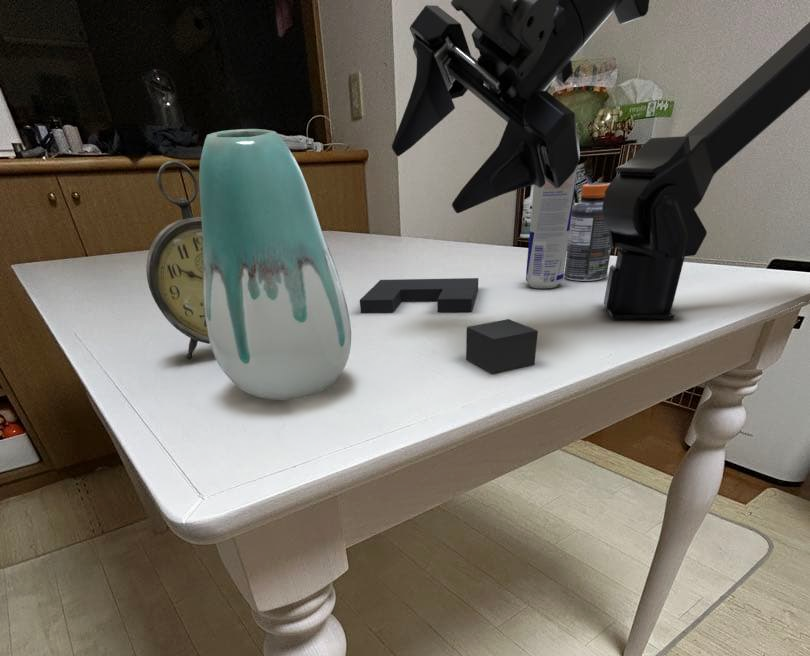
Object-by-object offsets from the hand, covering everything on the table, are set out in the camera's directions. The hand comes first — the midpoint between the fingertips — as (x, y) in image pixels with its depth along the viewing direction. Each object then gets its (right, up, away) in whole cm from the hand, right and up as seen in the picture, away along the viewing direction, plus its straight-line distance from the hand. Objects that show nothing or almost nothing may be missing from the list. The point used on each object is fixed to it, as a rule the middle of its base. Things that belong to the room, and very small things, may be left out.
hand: (423, 180), depth 46 cm
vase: (-12, -19, -1) cm, 23 cm away
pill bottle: (+25, +5, +28) cm, 38 cm away
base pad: (+1, -1, +22) cm, 22 cm away
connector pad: (+7, -16, +1) cm, 18 cm away
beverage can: (+18, +3, +25) cm, 31 cm away
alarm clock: (-21, -12, +9) cm, 26 cm away
